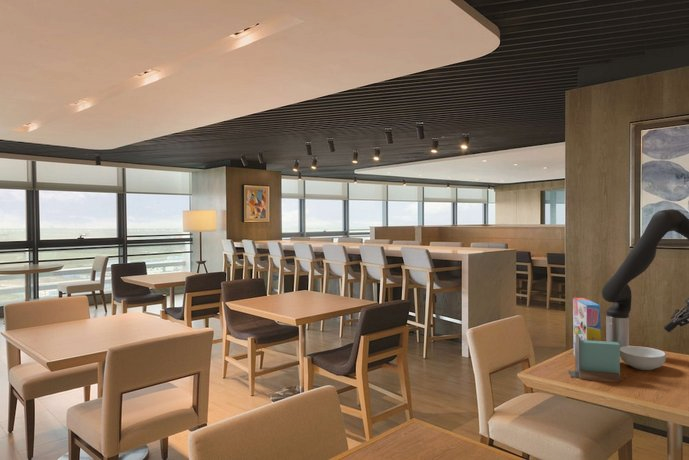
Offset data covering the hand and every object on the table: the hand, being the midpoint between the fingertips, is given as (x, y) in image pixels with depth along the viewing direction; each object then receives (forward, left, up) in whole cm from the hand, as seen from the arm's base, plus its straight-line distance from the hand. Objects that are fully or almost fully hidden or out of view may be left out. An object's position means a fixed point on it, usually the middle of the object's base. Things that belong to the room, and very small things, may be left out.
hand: (665, 330), depth 179 cm
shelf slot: (+2, -25, -20) cm, 32 cm away
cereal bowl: (-16, -4, -20) cm, 26 cm away
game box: (-18, -25, -20) cm, 37 cm away
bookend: (+2, -33, -20) cm, 38 cm away
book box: (+2, -24, -20) cm, 31 cm away
